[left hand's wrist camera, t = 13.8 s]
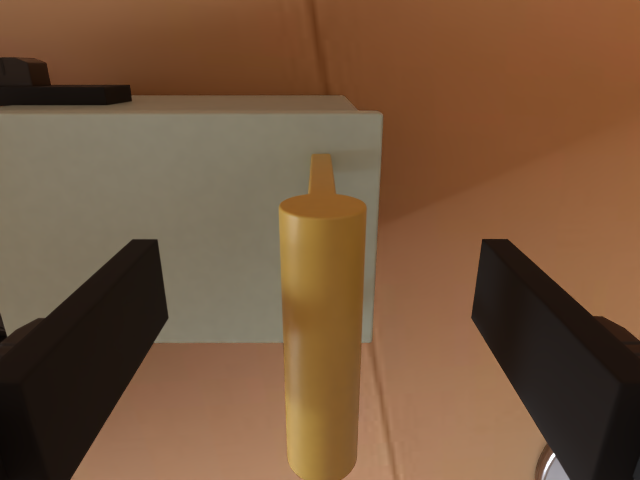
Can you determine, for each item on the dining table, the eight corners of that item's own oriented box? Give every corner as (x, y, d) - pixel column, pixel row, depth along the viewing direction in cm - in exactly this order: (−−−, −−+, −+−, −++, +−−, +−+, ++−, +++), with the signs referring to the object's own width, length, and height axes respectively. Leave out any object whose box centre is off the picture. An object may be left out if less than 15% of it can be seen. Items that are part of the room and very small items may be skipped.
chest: (344, 95, 26) (359, 110, 16) (341, 242, 29) (352, 327, 20) (97, 95, 26) (-33, 110, 16) (123, 242, 29) (26, 327, 20)
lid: (379, 110, 16) (443, 153, 8) (369, 327, 20) (406, 520, 11) (-34, 110, 16) (-409, 153, 8) (26, 328, 20) (-193, 520, 11)
